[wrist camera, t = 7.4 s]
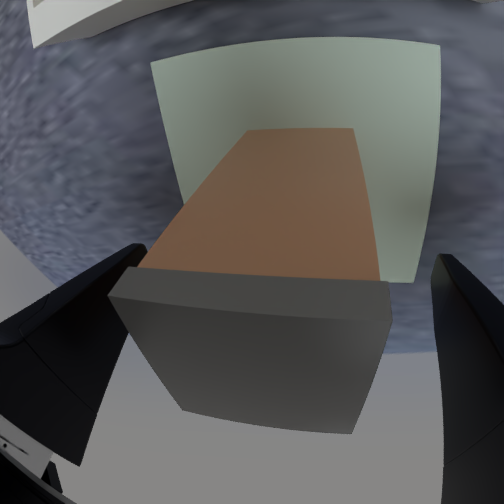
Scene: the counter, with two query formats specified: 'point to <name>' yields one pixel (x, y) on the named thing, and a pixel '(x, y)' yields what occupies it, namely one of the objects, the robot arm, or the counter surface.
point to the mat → (318, 118)
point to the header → (90, 17)
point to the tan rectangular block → (267, 287)
